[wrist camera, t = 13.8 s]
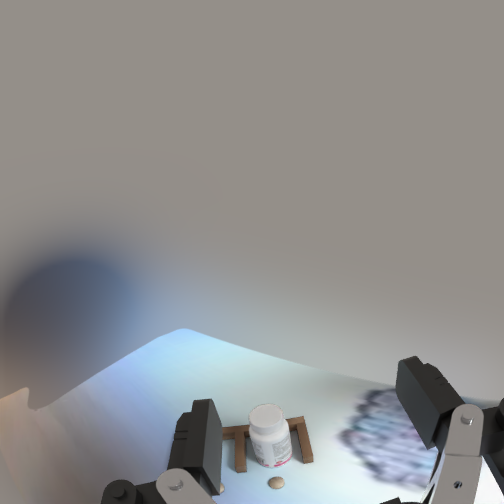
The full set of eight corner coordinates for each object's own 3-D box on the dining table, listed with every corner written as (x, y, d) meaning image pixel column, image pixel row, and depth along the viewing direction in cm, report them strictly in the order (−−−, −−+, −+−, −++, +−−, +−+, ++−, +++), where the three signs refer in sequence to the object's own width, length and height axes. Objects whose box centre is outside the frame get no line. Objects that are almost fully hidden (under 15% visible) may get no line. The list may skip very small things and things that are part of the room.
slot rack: (304, 422, 39) (303, 416, 38) (318, 482, 28) (317, 476, 28) (181, 436, 39) (177, 430, 39) (170, 493, 28) (166, 488, 28)
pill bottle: (293, 441, 36) (287, 400, 34) (292, 468, 31) (286, 428, 29) (258, 442, 37) (248, 402, 34) (254, 468, 32) (242, 430, 30)
